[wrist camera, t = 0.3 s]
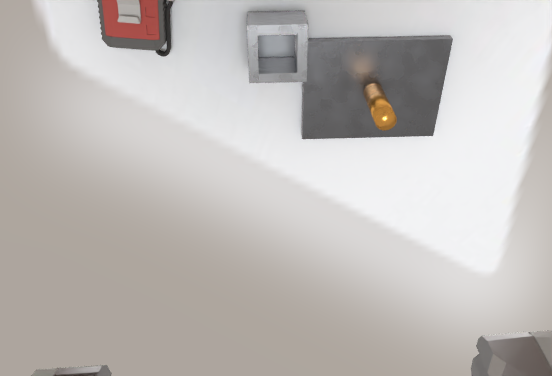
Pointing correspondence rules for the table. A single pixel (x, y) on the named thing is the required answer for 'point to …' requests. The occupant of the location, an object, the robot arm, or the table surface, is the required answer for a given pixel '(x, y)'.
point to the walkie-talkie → (136, 24)
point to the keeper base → (373, 65)
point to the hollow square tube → (277, 66)
